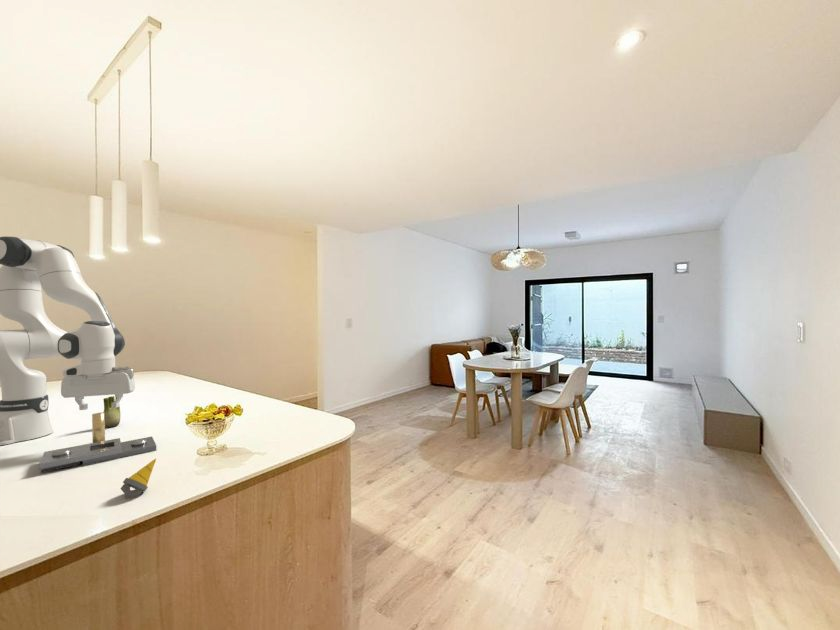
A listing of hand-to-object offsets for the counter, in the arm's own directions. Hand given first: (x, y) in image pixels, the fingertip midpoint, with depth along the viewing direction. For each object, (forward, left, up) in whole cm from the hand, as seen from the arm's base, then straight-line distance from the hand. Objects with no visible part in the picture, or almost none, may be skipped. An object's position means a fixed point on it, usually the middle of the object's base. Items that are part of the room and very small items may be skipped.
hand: (99, 408), depth 124 cm
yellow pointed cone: (+32, -43, -12) cm, 55 cm away
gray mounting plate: (+8, -14, -12) cm, 20 cm away
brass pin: (-1, 0, -12) cm, 12 cm away
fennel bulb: (-8, +20, -12) cm, 25 cm away
